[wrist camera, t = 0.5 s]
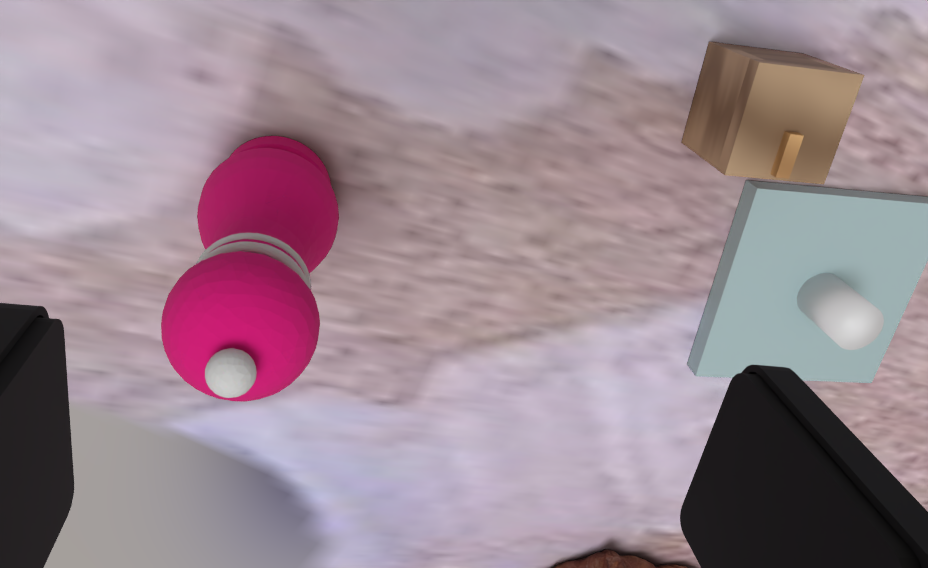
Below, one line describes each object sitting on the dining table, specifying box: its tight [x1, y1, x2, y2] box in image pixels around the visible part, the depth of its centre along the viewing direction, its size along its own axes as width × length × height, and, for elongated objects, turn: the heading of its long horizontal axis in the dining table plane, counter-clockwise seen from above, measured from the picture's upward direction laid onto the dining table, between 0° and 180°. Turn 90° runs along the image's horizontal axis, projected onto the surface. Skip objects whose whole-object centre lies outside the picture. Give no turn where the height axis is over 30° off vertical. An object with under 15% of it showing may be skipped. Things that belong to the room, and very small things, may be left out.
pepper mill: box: [161, 136, 339, 401], centre depth 35 cm, size 7×7×20 cm
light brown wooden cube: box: [682, 42, 864, 184], centre depth 42 cm, size 6×6×7 cm
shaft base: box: [687, 180, 928, 383], centre depth 49 cm, size 14×14×6 cm
